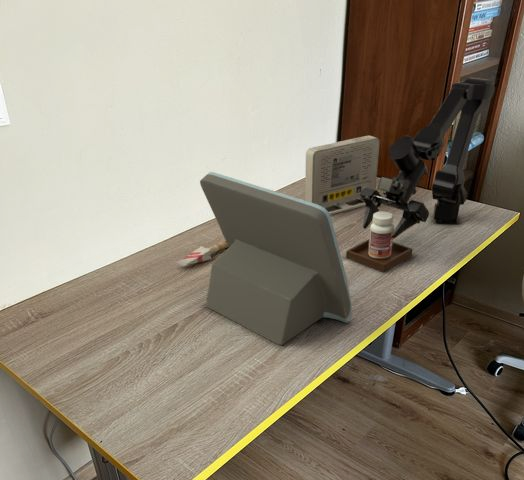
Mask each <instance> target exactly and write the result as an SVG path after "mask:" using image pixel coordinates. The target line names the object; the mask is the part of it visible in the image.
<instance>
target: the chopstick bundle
mask: <svg viewBox="0 0 524 480" xmlns="http://www.w3.org/2000/svg"><path fill="white" fill-rule="evenodd" d="M226 248H229V246H228V244H227V242H226V240H224V241H221V242H219V243H217V244H215V245H212V246H211V247H208V248H207V247H204V246H199V247H198V248H196V249H195V250H194V251H192V252H191V253H189V254H188V255H186V256H184V257H183V258H182V259H180V260H178V261H177V262H176V264H178V265H181V266H183V267H184V266H189V265H193V264H198V263H201V262H205V261H206V262H207V261H210V260H212V257H211V255H213V254H215V253H218V252H219V251H221V250H224V249H226Z"/></svg>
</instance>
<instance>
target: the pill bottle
mask: <svg viewBox="0 0 524 480" xmlns="http://www.w3.org/2000/svg"><path fill="white" fill-rule="evenodd" d="M393 222H394V214H393V213H391V212H389V211H378V212H376V213H374V214H373V220H372V222H371V223H370V226H369V238H368V239H369V250H368V254H369V255H370V256H371V257H372V258H376V259H386V258H388V257H390V256H391V252H392V242H394V238H392V234H393V232H394V230H395V227H394V224H393Z"/></svg>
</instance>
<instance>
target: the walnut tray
mask: <svg viewBox="0 0 524 480" xmlns="http://www.w3.org/2000/svg"><path fill="white" fill-rule="evenodd" d="M368 250H369V238H368V239H365V240H364V241H362V242H361V243H359V244H356V245H354V246H352V247H351V248H348V249H347V250H346V255H345V258H346V259H347V260H351V261H353V262H356V263H358V264H361V265H362V266H366V267H369V268H371V269H373V270H377V271H379V272H381V273H385V272H387V271H389V270H390V269H392V268H394V267H395V266H397V265H398V264H400V263H402V262H404V261H405V260H407V259H409V258H411V257H412V256H413V250H414V249H413V248H412V247H410V246H408V245H407V246H406V245H404V244H400V243H397V242H395V241H393V242H392V252H391V256H390V257H388V258H386V259H376V258H372V257H371V256H370V255H369V254H368Z"/></svg>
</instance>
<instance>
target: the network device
mask: <svg viewBox="0 0 524 480" xmlns="http://www.w3.org/2000/svg"><path fill="white" fill-rule="evenodd" d="M379 155H380V139H379V138H378V137H375V136H372V135H364V136H359V137H354V138H350V139H345V140H341V141H336V142H331V143H326V144H322V145H316V146H312V147H309V148H308V149H307V150H306V152H305V180H304V183H305V186H304V189H305V190H304V191H305V192H304V200H305V201H308V202H311V203H314V204H317V205H320V206H322V207H323V208H327V207H330V206H335V207H337V208H339V209H336V210H335V209H334V210H332V211H328V212H329V214H330V216H331V215H336V214H339V213H342V212H346V211H350V210H353V209H357V208H361V207H366V204H365V202H364V201H363V199H362V197H361V196H360V194H361V192H362V190H363V189H364V188H366V187H368V188H371V189H375V190H377V177H378V167H379ZM353 200H358V201H361V203H358V204H354V205H351V204H348V203H347V202H349V201H353Z"/></svg>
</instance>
